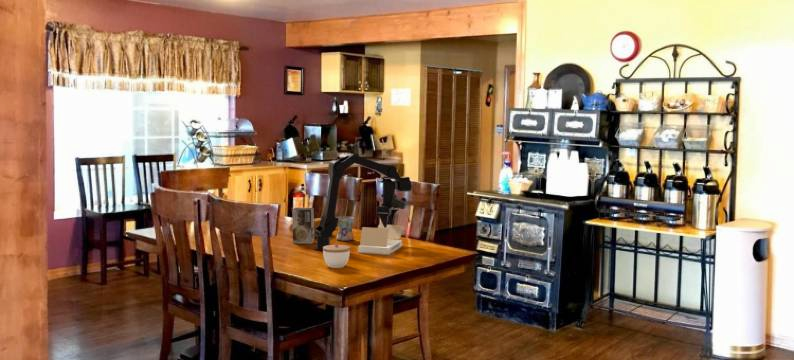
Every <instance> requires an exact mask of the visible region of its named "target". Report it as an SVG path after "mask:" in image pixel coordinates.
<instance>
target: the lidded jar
mask: <svg viewBox="0 0 794 360" xmlns="http://www.w3.org/2000/svg"><path fill="white" fill-rule="evenodd" d="M350 250H351V247H350V246H349V245H345V244H339V243H338V242H335V243H334V244H330V245H327V246H324V247H323V250H322V254H323V259H324V260H323V261H324V263H325V264H326V265H328V267H329V268H332V269H340V268H341V269H342V268H344V267H345V265H346V264H347V263H348V262H349V259H350V254H351V251H350Z"/></svg>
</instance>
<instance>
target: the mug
mask: <svg viewBox="0 0 794 360" xmlns="http://www.w3.org/2000/svg"><path fill="white" fill-rule="evenodd" d="M337 217H338V218H339V219H338V223H337V225H338V227H337V234H336V235H337V236H336V240H339V241H341V242H342V241H343V242H347V241H352V240H354V239H355V237H354V235H353V225H354V222H355V219H356V217H354V216H337Z"/></svg>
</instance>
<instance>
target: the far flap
mask: <svg viewBox="0 0 794 360" xmlns="http://www.w3.org/2000/svg"><path fill="white" fill-rule="evenodd" d="M377 228H385V227H384V226H383V224H382V223H381V224H378V226H377ZM386 229H389V231H388V239H393V240H401V237H402V233H403V230H404V225H400V224H399V225H398V224H392V225H391V224H387V227H386Z"/></svg>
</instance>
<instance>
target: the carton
mask: <svg viewBox="0 0 794 360" xmlns="http://www.w3.org/2000/svg"><path fill="white" fill-rule="evenodd" d="M402 246H403V241H402V239H388V240H387V247H377V246H363V245H358V246H357V253H359V254H367V255H368V254H369V255H383V256H384V255H386V256H390V255H391V254H392V253H394V252H396V251H398V250H400V249H401V248H402Z"/></svg>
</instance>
